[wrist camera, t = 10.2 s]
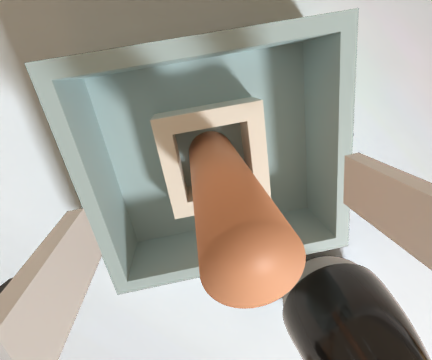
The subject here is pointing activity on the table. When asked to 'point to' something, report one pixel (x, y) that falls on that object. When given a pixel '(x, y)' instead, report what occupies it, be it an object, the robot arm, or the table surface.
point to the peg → (239, 229)
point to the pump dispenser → (347, 315)
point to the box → (198, 123)
